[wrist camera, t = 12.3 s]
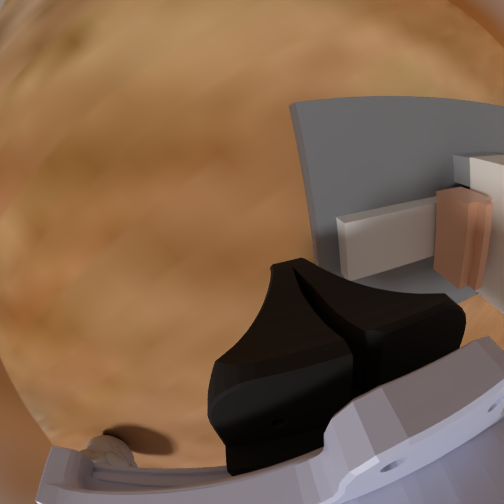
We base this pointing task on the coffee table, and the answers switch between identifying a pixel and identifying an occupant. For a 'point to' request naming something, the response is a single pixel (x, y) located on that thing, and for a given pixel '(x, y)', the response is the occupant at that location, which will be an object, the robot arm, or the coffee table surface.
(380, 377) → the robot arm
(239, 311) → the coffee table surface
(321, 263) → the rail board
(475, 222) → the rail clip
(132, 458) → the grey sculpted head
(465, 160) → the block
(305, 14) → the coffee table surface
